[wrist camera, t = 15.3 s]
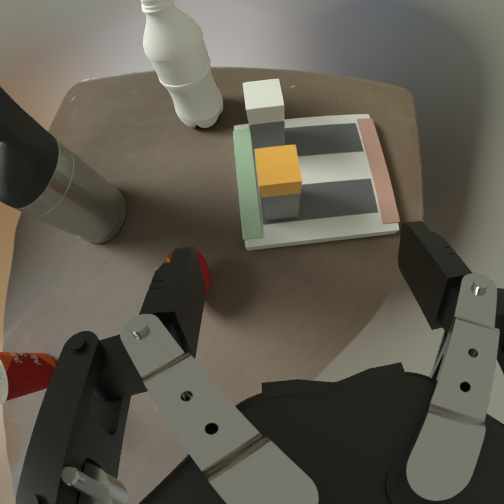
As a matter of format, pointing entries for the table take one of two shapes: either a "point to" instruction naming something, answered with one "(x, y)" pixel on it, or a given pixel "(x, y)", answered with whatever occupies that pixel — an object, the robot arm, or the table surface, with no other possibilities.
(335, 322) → the table surface
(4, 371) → the paper cup
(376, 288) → the table surface
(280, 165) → the orange-topped grey pillar
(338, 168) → the grey base plate
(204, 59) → the water bottle
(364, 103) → the table surface
